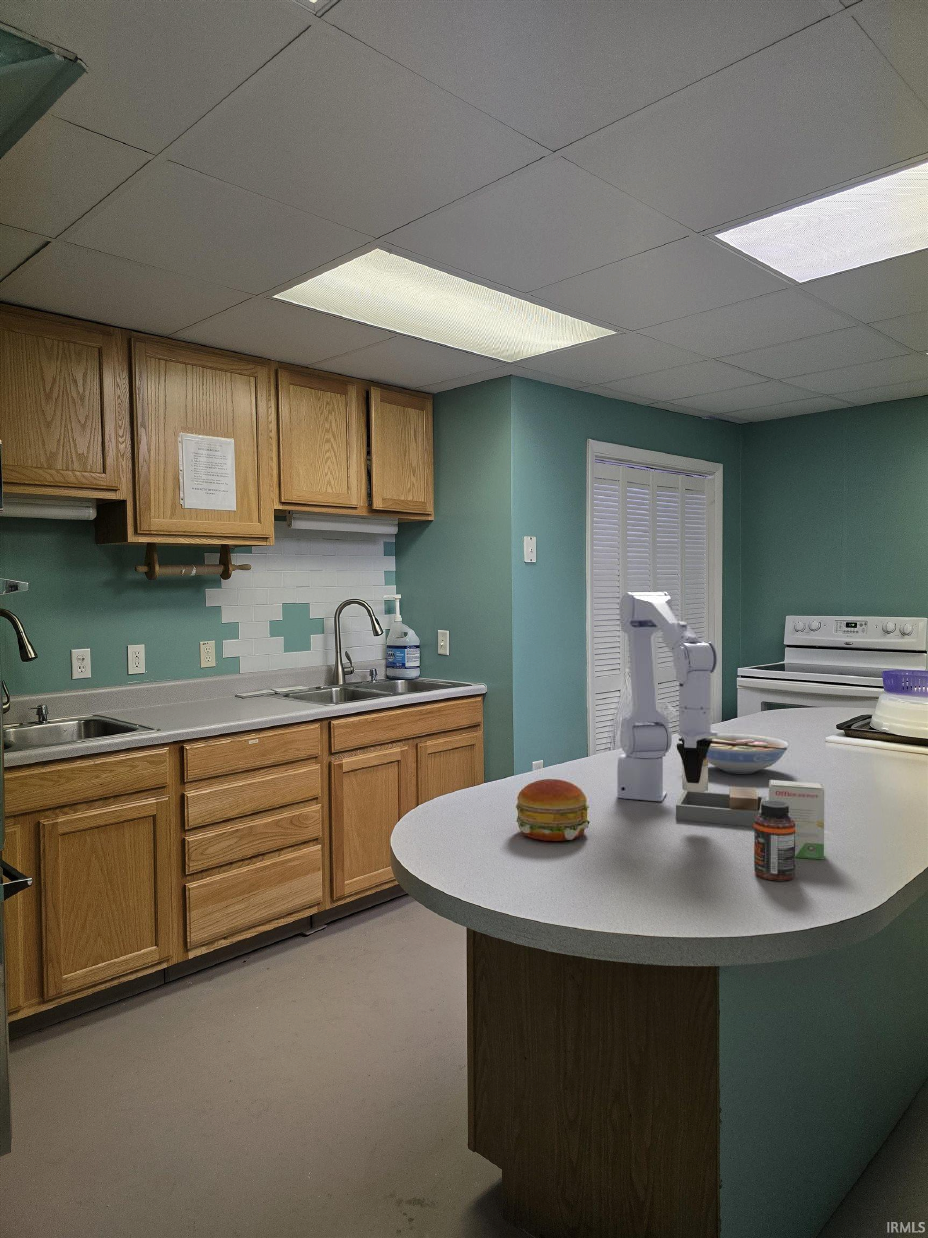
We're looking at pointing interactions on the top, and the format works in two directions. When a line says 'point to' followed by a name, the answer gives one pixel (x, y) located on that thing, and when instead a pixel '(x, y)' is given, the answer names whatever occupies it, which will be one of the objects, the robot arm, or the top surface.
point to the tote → (713, 809)
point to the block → (743, 798)
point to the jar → (703, 782)
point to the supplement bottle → (774, 842)
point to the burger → (552, 810)
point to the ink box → (803, 814)
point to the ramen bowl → (744, 752)
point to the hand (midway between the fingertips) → (694, 779)
